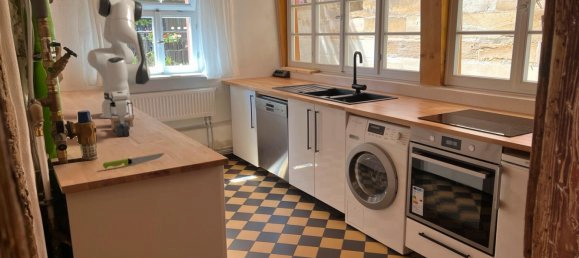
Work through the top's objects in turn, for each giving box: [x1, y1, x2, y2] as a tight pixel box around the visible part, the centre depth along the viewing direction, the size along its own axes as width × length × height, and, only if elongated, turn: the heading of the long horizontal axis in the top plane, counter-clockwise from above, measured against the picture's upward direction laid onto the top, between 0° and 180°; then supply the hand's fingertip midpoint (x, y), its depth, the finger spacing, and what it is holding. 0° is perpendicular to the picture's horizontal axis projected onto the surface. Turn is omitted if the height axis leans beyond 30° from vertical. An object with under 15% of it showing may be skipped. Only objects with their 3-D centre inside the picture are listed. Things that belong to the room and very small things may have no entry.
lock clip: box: [110, 115, 134, 130], centre depth 202 cm, size 9×3×4 cm, turn 114°
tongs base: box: [112, 120, 131, 138], centre depth 209 cm, size 19×8×6 cm, turn 24°
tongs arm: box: [122, 122, 130, 137], centre depth 207 cm, size 14×2×4 cm, turn 24°
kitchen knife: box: [102, 152, 165, 170], centre depth 159 cm, size 22×1×3 cm, turn 125°
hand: (122, 122), depth 202 cm, fingers closed on lock clip, 3 cm apart
